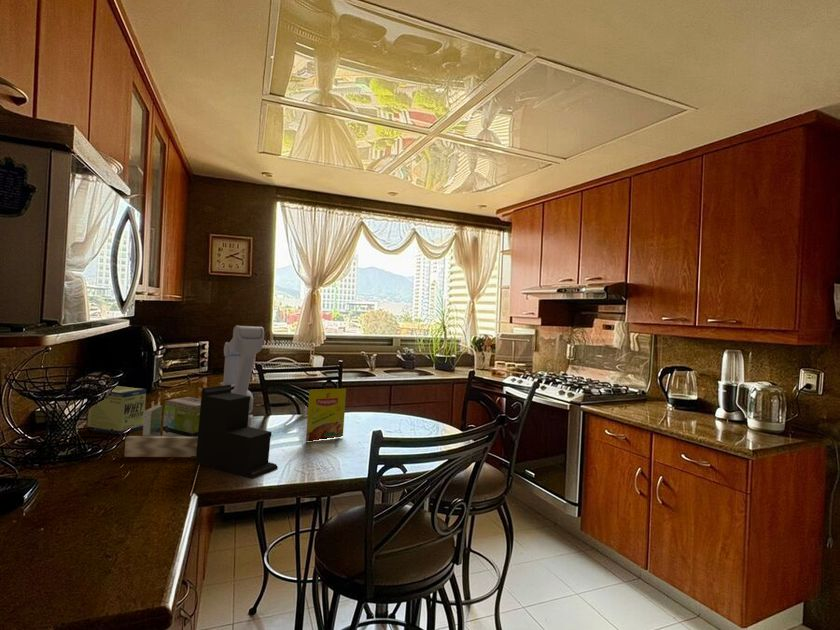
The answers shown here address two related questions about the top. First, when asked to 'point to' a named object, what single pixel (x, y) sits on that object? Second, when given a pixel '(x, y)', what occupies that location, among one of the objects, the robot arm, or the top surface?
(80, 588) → the top surface
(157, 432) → the small book
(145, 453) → the shelf wall
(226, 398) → the black stepped block
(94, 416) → the protein box
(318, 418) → the food package
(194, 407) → the tea box
